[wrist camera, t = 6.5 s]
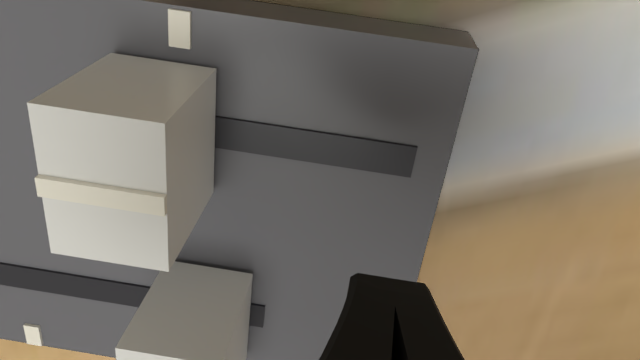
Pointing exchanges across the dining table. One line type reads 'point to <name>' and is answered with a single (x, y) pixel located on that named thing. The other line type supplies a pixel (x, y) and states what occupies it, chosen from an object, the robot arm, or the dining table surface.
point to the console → (243, 159)
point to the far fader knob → (191, 316)
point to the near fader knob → (125, 158)
